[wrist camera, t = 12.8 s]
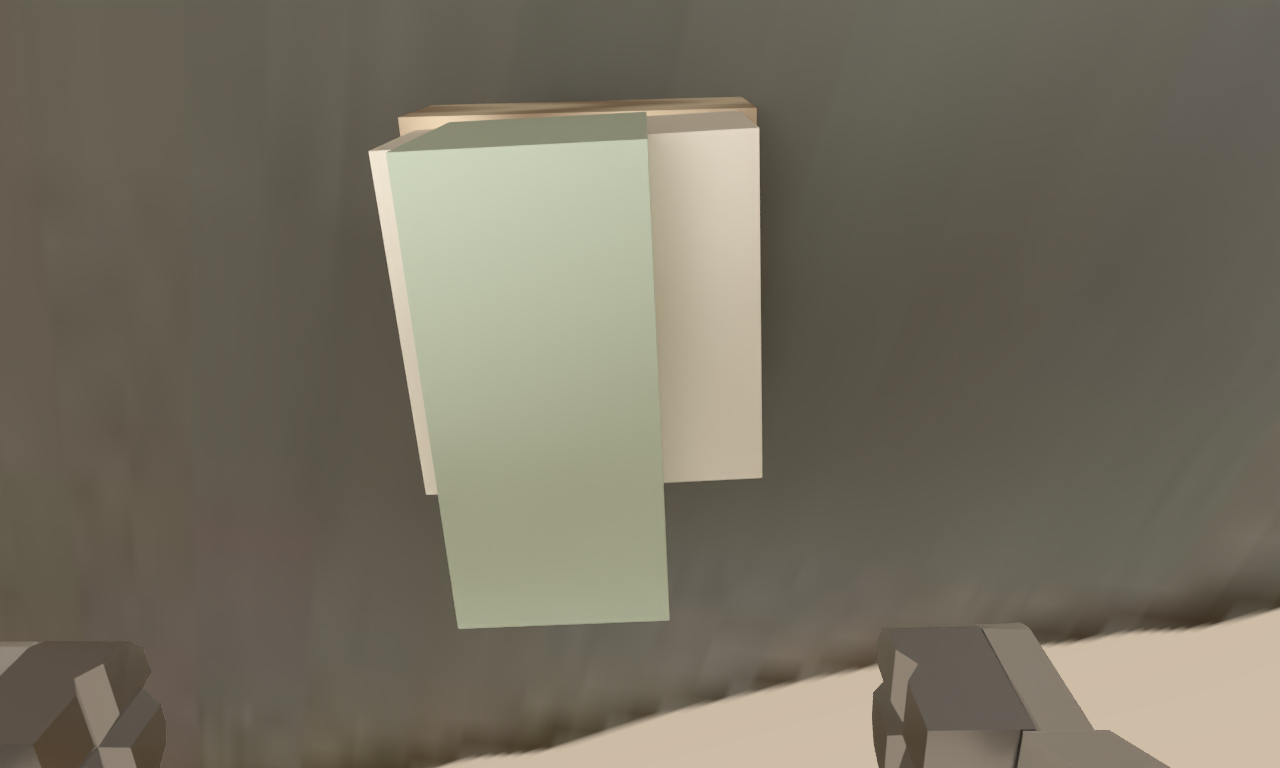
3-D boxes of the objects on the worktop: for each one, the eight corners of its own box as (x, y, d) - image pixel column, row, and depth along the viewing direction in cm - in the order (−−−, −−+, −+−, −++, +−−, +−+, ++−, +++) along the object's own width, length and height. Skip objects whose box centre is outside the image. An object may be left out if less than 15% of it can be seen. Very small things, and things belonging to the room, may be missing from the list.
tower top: (739, 110, 27) (759, 127, 23) (744, 410, 31) (762, 477, 26) (414, 129, 28) (368, 151, 23) (458, 425, 31) (426, 494, 27)
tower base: (740, 95, 32) (756, 107, 27) (736, 382, 36) (750, 434, 31) (433, 104, 32) (397, 117, 27) (464, 388, 36) (437, 441, 31)
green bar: (646, 111, 23) (647, 138, 17) (664, 496, 27) (669, 620, 21) (449, 122, 23) (385, 152, 17) (496, 503, 27) (458, 628, 21)
